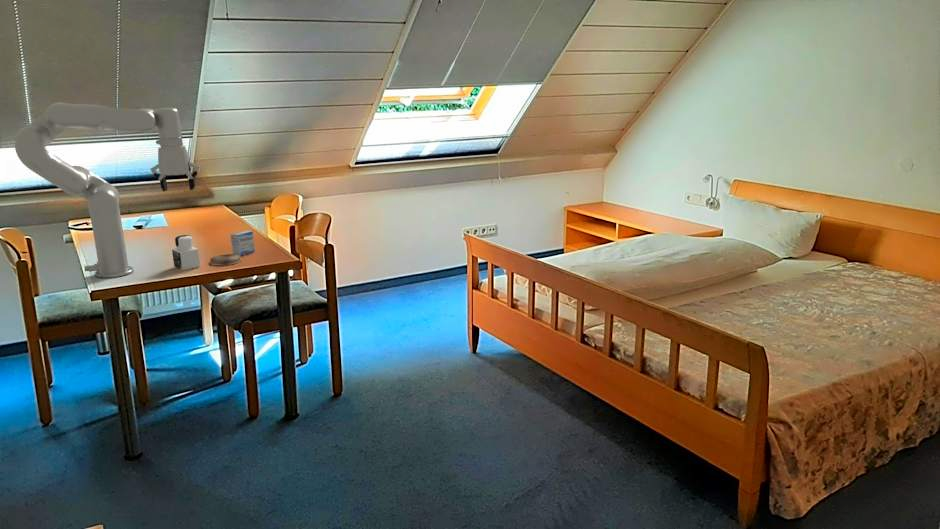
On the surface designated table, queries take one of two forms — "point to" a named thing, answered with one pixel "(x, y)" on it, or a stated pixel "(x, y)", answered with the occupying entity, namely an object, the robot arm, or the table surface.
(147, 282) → the table surface
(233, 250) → the medicine box
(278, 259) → the table surface
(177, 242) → the medicine bottle
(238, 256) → the grey flat disc
